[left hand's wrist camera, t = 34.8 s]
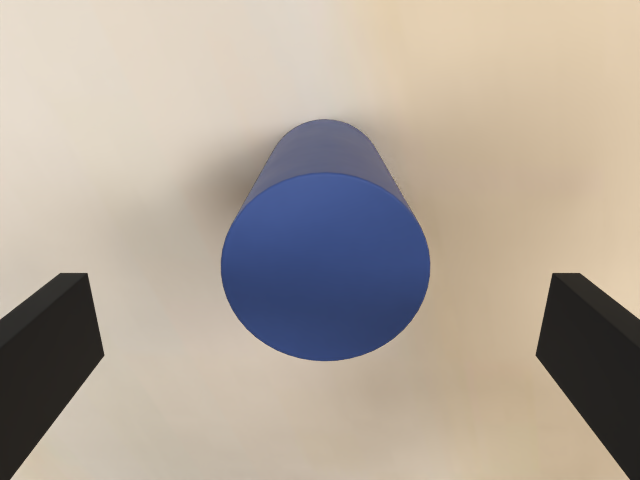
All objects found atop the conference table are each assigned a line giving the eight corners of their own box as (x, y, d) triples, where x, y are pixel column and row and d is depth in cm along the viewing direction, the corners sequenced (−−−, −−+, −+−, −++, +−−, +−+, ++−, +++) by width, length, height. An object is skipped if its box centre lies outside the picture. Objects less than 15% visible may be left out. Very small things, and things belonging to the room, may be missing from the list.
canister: (295, 247, 26) (273, 385, 15) (247, 146, 24) (182, 221, 13) (398, 208, 25) (455, 325, 14) (358, 99, 23) (390, 136, 12)
